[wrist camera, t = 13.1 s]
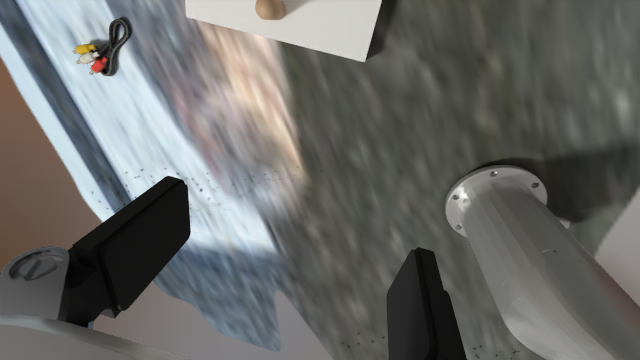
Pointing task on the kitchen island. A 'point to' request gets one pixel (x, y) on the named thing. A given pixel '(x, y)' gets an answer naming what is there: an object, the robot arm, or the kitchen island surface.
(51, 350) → the robot arm
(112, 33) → the composite cable
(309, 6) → the plate
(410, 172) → the kitchen island surface
